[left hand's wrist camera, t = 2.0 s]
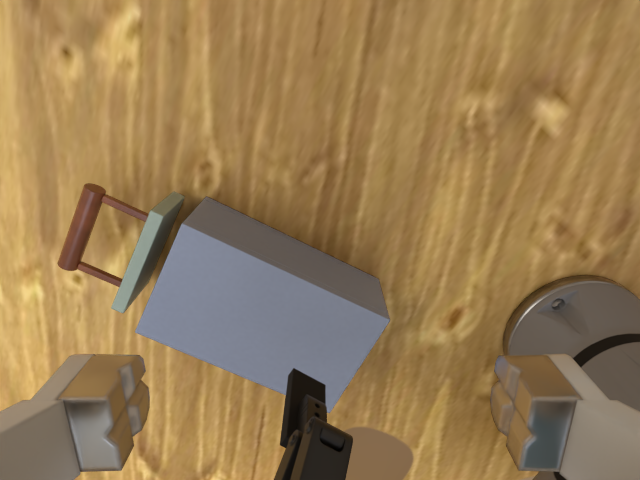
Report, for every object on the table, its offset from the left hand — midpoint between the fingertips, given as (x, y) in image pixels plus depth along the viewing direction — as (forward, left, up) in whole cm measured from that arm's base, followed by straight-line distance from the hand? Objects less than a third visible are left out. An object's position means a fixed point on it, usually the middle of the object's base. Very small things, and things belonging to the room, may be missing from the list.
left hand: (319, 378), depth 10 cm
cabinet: (+10, -12, -35) cm, 39 cm away
